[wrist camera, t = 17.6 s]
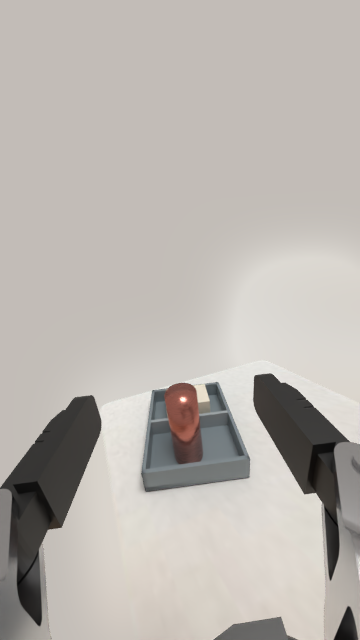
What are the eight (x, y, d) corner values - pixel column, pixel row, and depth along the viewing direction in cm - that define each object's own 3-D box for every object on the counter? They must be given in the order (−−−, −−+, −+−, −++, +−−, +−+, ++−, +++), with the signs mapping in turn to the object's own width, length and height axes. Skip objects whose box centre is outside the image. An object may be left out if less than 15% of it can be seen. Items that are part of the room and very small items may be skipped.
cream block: (205, 399, 48) (204, 384, 46) (210, 418, 42) (209, 401, 40) (168, 404, 47) (166, 388, 46) (168, 423, 42) (165, 406, 40)
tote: (218, 395, 50) (218, 382, 48) (249, 477, 31) (249, 458, 29) (154, 403, 49) (152, 390, 48) (145, 491, 30) (141, 473, 29)
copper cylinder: (200, 436, 38) (194, 381, 33) (205, 465, 32) (199, 402, 28) (174, 441, 37) (164, 385, 33) (175, 470, 32) (164, 408, 28)
